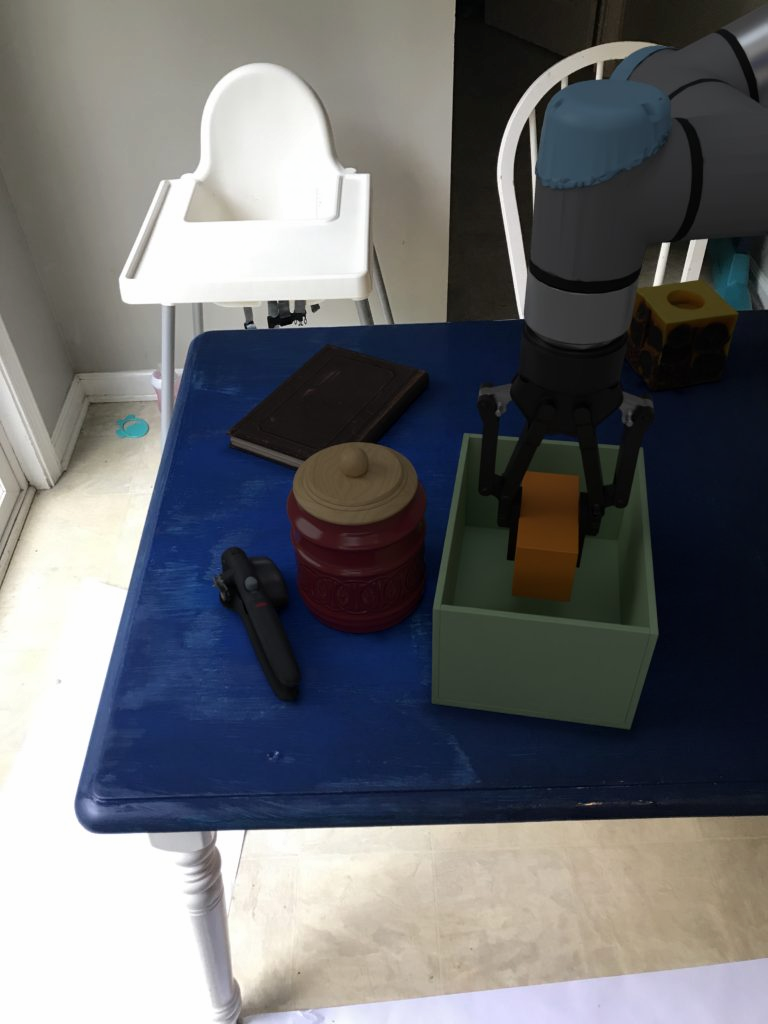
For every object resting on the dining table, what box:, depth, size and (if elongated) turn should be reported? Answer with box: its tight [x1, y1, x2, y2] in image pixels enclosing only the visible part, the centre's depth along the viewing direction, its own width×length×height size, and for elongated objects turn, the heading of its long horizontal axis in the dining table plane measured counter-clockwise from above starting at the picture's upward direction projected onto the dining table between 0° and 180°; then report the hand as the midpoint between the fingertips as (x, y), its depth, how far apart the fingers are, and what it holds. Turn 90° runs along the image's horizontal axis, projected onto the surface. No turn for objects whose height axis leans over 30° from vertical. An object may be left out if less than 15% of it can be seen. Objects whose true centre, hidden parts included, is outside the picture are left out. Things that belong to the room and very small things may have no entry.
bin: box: [431, 432, 660, 730], centre depth 77 cm, size 17×23×13 cm
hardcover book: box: [225, 343, 430, 471], centre depth 106 cm, size 16×23×2 cm
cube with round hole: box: [624, 279, 740, 392], centre depth 109 cm, size 10×10×10 cm
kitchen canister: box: [285, 442, 428, 634], centre depth 79 cm, size 13×13×18 cm
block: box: [511, 471, 579, 602], centre depth 74 cm, size 5×10×6 cm, turn 170°
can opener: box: [212, 546, 302, 703], centre depth 78 cm, size 18×7×6 cm, turn 21°
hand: (543, 552), depth 75 cm, fingers closed on block, 5 cm apart
